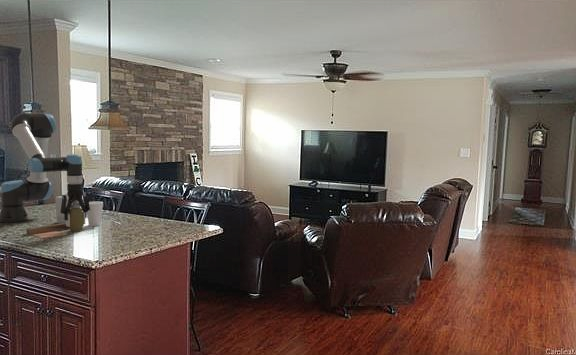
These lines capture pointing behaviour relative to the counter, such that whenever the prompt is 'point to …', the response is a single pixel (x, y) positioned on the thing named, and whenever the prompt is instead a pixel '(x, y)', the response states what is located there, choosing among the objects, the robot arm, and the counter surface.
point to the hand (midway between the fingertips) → (75, 224)
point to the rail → (49, 229)
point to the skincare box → (58, 209)
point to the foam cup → (95, 213)
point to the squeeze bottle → (76, 217)
